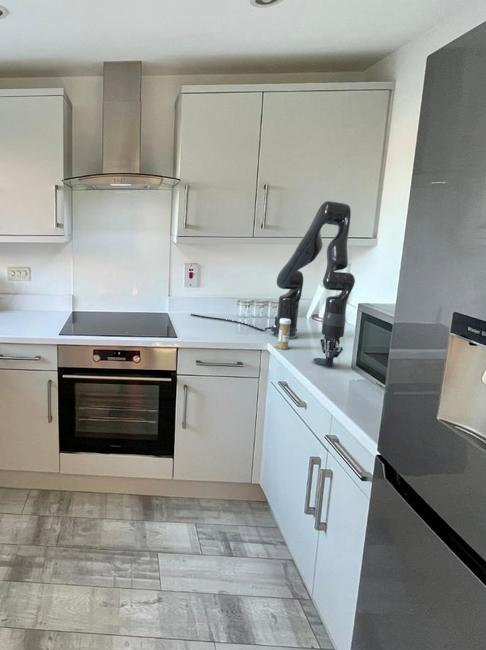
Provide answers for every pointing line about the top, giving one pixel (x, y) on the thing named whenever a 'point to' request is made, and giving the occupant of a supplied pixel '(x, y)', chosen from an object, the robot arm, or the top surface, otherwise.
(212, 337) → the top surface
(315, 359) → the plate
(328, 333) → the robot arm
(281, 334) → the sprinkles bottle
